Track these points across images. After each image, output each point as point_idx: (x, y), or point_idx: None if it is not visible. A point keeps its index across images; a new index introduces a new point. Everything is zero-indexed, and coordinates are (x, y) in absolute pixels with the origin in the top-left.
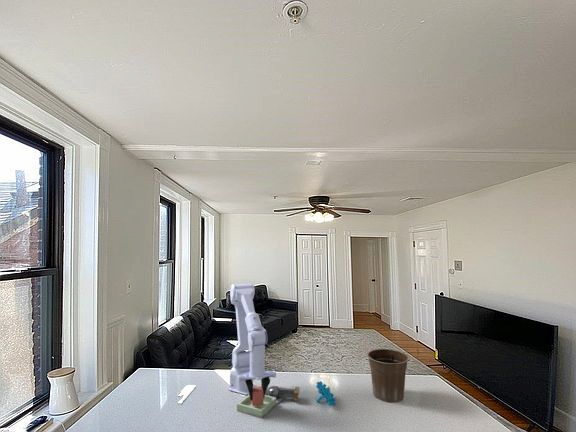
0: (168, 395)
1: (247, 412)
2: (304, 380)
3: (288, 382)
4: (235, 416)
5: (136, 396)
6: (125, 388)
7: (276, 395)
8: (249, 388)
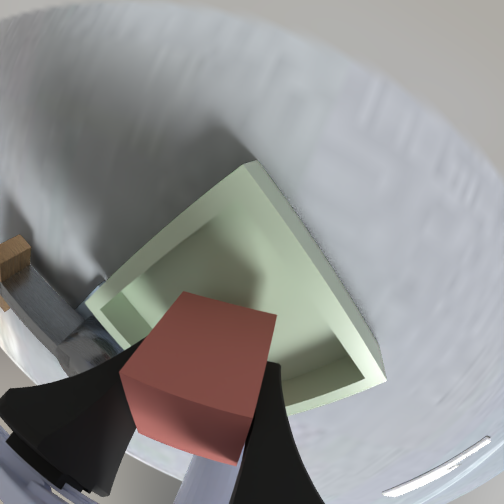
0: (465, 468)
1: (339, 283)
2: (27, 355)
3: None
4: (425, 289)
5: (501, 462)
6: (485, 480)
7: (86, 329)
8: (294, 478)
